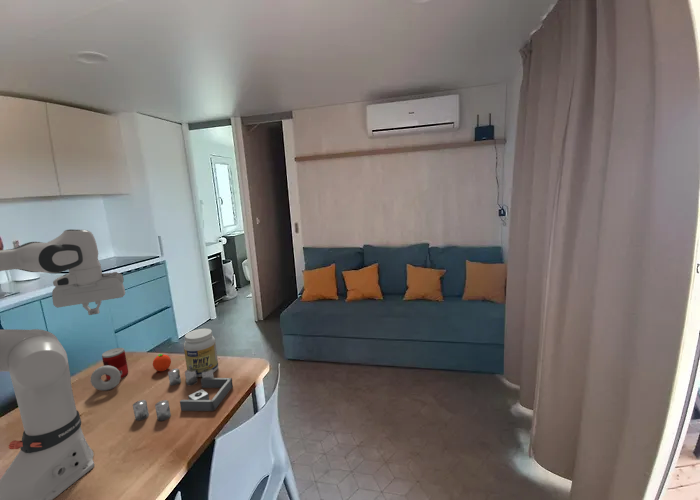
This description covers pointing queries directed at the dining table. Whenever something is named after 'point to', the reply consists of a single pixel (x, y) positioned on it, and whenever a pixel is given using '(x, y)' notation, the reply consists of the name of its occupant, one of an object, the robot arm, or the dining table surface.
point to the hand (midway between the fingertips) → (94, 314)
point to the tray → (209, 404)
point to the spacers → (163, 406)
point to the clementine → (161, 362)
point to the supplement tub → (200, 351)
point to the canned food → (116, 361)
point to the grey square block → (199, 395)
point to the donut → (103, 385)
